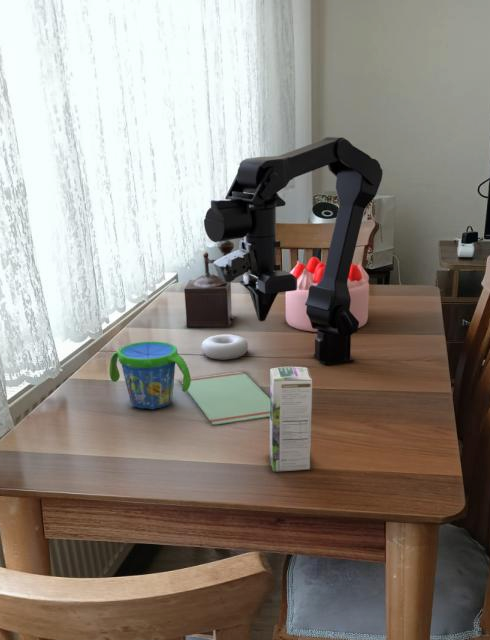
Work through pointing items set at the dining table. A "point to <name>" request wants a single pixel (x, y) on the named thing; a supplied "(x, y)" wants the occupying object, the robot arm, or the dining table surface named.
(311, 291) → the robot arm
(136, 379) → the snack cup
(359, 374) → the dining table surface
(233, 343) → the donut
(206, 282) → the manual coffee grinder
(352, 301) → the cake
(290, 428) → the syrup box
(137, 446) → the dining table surface
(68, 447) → the dining table surface
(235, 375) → the green flat piece
